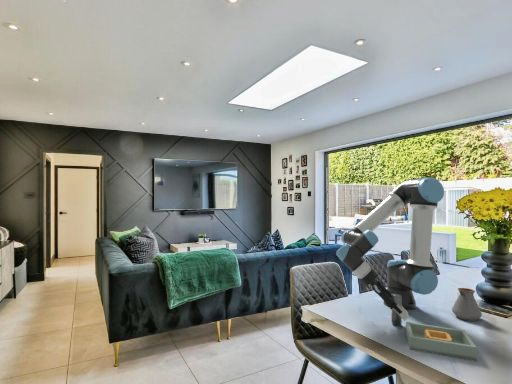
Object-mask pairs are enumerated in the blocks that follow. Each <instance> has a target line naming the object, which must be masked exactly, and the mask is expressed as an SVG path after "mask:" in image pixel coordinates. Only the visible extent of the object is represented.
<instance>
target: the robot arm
mask: <svg viewBox="0 0 512 384" xmlns="http://www.w3.org/2000/svg"><path fill="white" fill-rule="evenodd" d="M444 196H445V189H444V185H443V183H441V182H440V180H438V179H437V178H434V177H420V178H411V179H407V180H404V181H403V182H401V183H400V184H399V185H397V186H396V187H395V188H393V190H391V191H390V192H389V193H388V194H387V197H386V198H385V200H383V201H382V202H381V203H380V204H379V205H378V206H376V207H375V208H374V209H373V210H372V211H371V212H370V213H368V214H367V215H366V216H365V217H364V218H363V219H362V220H361V221H359V222H358V223H356V225H355V226H354V227H353V228H351V229H350V230H346V231H344V232H343V233H342V234H341V236H340V240H341V243H342V244H343V245H342V246H340V247H339V248H338V250H336V252H335V255H336V256H337V258H339V260H340V261H341V262H342V263H343V264H344V265H345V266H346V267H347V268H348V269H349V270H350V271H351V273H353V274H352V275H353V276H355V277H356V278H357V279H359V281H360V282H361V283H362V284H363V286H365V287H368V286H369V285H370V286H371V289H372V290H373V291H374V293H375V294H377V295H378V296H379V297H380V299H382V300H383V305H385V306H387V307H389V308H390V310H392V309H394V310H395V311H396V313H397V314H398V315H399V316H400V317H401V318H402V321H405V322H406V320H408V319H409V318H410V315H409V312H408V311H412V310H416V308H417V302H416V299H415V296H414V293H416V294H420V295H422V296H424V295H430V294H431V293H432V292H433V291H435V290H436V289H437V287H438V285H439V284H438V283H439V278H438V275H436V273H435V272H434V265H433V264H432V262H431V261H430V260H431V251H432V249H431V247H432V233H433V232H432V231H433V221H434V220H433V219H434V218H433V217H434V211H435V210H436V209H437V208H438V203H439V202H440V201H441V200H442V199H443V198H444ZM408 204H409V206H410V207H411V208H412V216H411V219H412V220H411V231H410V246H409V254H408V255H409V258H408V259H390V260H388V261H387V266H386V268H387V270H386V271H387V273H386V274H387V276H386V277H387V279H386V280H387V282H386V283H387V285H386V286H387V287H385V286H384V285H383V284H382V282H381V281H380V280H379V279H378V273H377V272H376V271H375V269H373V268H371V266H370V265H369V264H368V262H366V261H365V260H364V259H363V257H364V256H366V254H367V253H368V252H370V250H372V249H373V248H374V247H375V246H376V245H377V244H378V243H379V241H380V240H379V237H378V236H377V234H376V233H375V232H374V231H375V230H376V229H377V228H378V227H379V226H380V225H381V224H383V223H384V222H385V221H386V220H387V219H388V218H390V217H391V216H392V215H393V214H394V213H395V212H396V211H398V209H403V208H404V207H405V206H406V205H408ZM393 293H396V294H400V295H402V308H401V307H400V306H399V305H398V304H396V303H395V302H394V301H393V299H392V294H393Z"/></svg>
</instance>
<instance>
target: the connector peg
mask: <svg viewBox="0 0 512 384" xmlns="http://www.w3.org/2000/svg"><path fill="white" fill-rule="evenodd" d="M392 299H393V301H394V302H395V303H396V304H398V305H399V306H400V307H401V308H402V295H400V294H396V293H393V294H392ZM402 321H403V319H402V318H401V317H400V316H399V315H398V314H397V313H396V311H395V310H394V309H391V324H393V325H396V326H400V325H402V324H403V322H402Z"/></svg>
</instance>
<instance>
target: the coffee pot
mask: <svg viewBox="0 0 512 384" xmlns="http://www.w3.org/2000/svg"><path fill="white" fill-rule="evenodd" d="M457 290H458V292H457V294H458V295H457V298H456V300H455V302H454V304H453V306H452V308H451V311H452V313H453V314H454V315H455V316H456V317H457V318H459V319H461V320H465V321H467V322H470V321H471V322H475V321H477V320H479V319H480V318H482V315H483V313H482V311H481V309H480V307H479V304H478V302H477V300H476V299H475V296H474V293H475V292H476V291H475V290H474V289H471V288H466V287H457Z"/></svg>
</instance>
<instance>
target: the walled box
mask: <svg viewBox="0 0 512 384" xmlns="http://www.w3.org/2000/svg"><path fill="white" fill-rule="evenodd" d="M405 335H406V339H407V343H408V348H409V351H410V350H411V351H416V352H421V353H426V354H427V353H428V354H433V355H438V356H440V355H441V356H444V357H450V358H457V359H462V360H468V361H472V360H473V361H474V362H477V359H478V358H477V357H478V354H477V351H478V350H477V349H478V348H477V346H476V344H475V343H474V342H473V340H472V339H471V337H470V336H469V334H468V333H467V332H466V330H464V329H460V328H459V329H458V328H457V329H456V328H451V327H445V326H444V327H443V326H437V325H430V324H424V323H423V324H422V323H415V322H410V321H405ZM473 361H472V362H473Z"/></svg>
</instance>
